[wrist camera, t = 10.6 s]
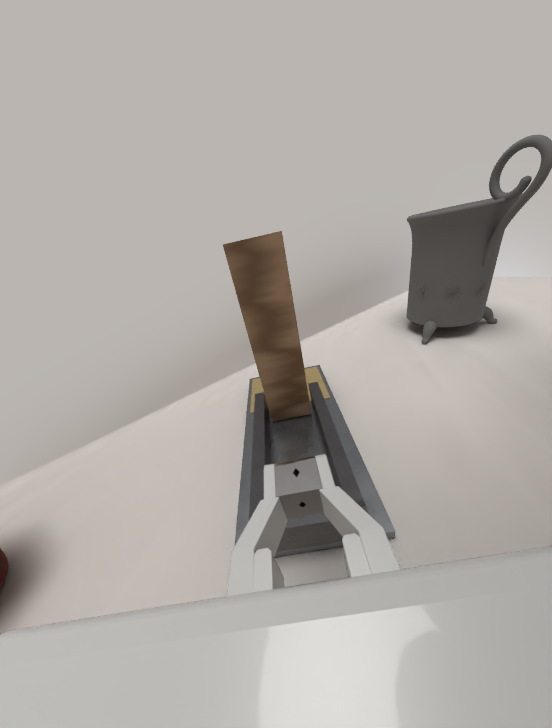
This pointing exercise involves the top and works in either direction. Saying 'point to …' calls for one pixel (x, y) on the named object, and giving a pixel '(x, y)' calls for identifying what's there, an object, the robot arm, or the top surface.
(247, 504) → the steel chute
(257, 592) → the robot arm
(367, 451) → the top surface
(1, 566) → the decorative planter
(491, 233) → the footed curly-handled cup
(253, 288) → the walnut block
